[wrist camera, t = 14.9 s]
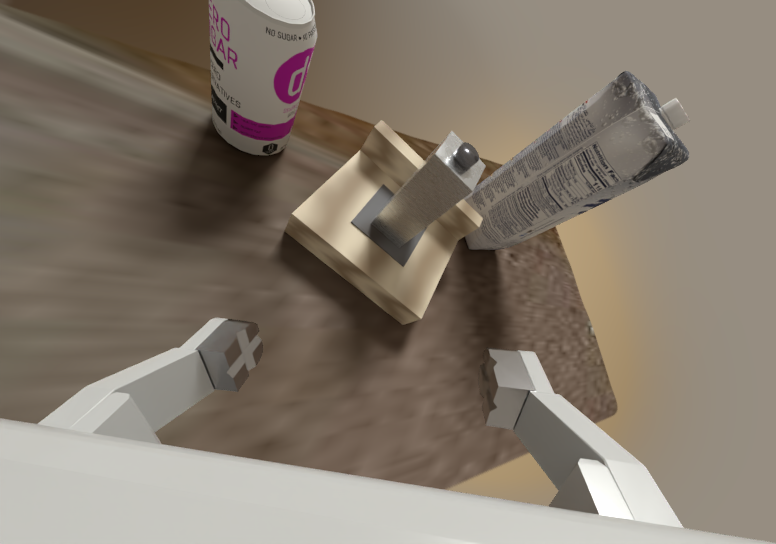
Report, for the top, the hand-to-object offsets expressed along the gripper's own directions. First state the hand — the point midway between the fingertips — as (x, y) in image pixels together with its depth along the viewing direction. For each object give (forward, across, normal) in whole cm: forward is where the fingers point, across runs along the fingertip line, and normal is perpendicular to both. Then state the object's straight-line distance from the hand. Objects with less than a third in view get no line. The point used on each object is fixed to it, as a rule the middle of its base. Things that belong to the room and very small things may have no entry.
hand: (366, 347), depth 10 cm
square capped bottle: (+25, -2, -4) cm, 26 cm away
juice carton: (+41, +11, -10) cm, 44 cm away
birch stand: (+27, -4, -7) cm, 29 cm away
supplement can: (+28, -20, +5) cm, 35 cm away
